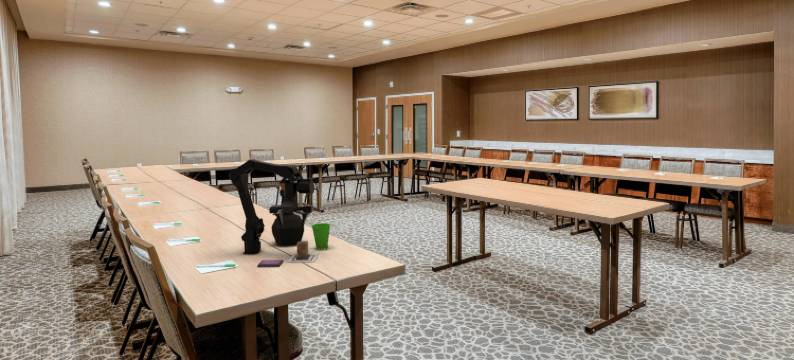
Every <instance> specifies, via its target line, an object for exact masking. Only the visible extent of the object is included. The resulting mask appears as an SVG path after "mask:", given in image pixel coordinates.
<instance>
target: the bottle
mask: <svg viewBox="0 0 794 360" xmlns="http://www.w3.org/2000/svg"><path fill="white" fill-rule="evenodd" d="M279 184H280V183H279ZM279 196H280V197H281V199H280V200H281V201H280V205H281V207H282V204H283V202H284V197H285V196H284V184H280V190H279ZM280 212H282V216H283V228H281V225H280V223H279V221H278V219H277V217H275V218H274V220H273V223H272V225H271V234H272V237H273V239H274V241H275V242H274V243H275V245H276V246H279V247H280V246H281V247H294V246H297V243H298V242H299V241H302V240H303V237H304V234H305V226H304V227H303V228H302V216H300V215H299V214H296V213H294V212H295V211H294V212H292V213H290V212H286V213H283V211H280Z"/></svg>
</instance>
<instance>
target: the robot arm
mask: <svg viewBox="0 0 794 360" xmlns="http://www.w3.org/2000/svg"><path fill="white" fill-rule="evenodd" d="M253 170H257V171H261V172H267V173H270V174H275V175H277V176H278V177H280V178H282V179H281V180H280V181H279V182H278V183H279V184H284V196H285V197H284V202H283V204H282V207H281V204H275V205H274V204H273V205H271V206H270V207H269V210H268V212H269V214H272V216H275V218H277V219H278V221H279V223H280V225H281V228H283V216H282V212H281V211H283V213H286V212H290V213H292V212H302V213H301V219H302V228H303V227H304V228H305V224H306V221H307V217H308V216H309V215H310V214H311V213H313V212H314V211H315V210H314V209H315V208H314V205H313V204H304V205H303V206H300V205H299V198H298V197H299V194H300V195H301V194H303V195H306V194H308V195H309V194H310V195H312V194H314V193H315V188H316V187H315V186H316V185H315V182H314V181H313V178H312V177H310V178H305V177H303V175H302V174H301V173H300V171H299V168H298V167H297V166H296V165H295V164H277V163H272V162H267V161H261V160H257V159H255V158H253V159H252V158H251V159H248V160H246V162H244V163H243V164H241V165H239V166H238V167H236V168H233V169H231V170H229V173H228V177H229V180H230V182H231V184H232V185H233V186H234V187H235V189H236V190H237V192H238V197H239V199H240V203H241V207H242V209H243V212H244V216H245V225H244V230H245V232H244V233H243V234H242V235H241V236H240V238H241V241H242V242H243V243H244V245H243V247H244V248H243V249H244V252H243V254H244V255H257V254H259V253H260V252H261V251H262V242H261V240H260V238H261V237H262V234H263V233H264V231H265V226H266V225H265V223H264V220H263V219H264V218H263V217H261V218H259V216H258V215H257V212H256V208H255V206H254V203H253V198H252V196H251V193H250V189H249V174H251V173H252V171H253Z"/></svg>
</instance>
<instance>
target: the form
mask: <svg viewBox="0 0 794 360" xmlns="http://www.w3.org/2000/svg"><path fill="white" fill-rule="evenodd" d="M319 256H320V254H310V257H309V259H308V260H296V257H297V254H292V255H291V256H290V257H289V258H288V260H287V261H286V263H290V264H292V263H293V264H294V263H295V264H296V263H300V264H301V263H316V261H317V260H318V258H319Z"/></svg>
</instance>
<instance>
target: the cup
mask: <svg viewBox="0 0 794 360" xmlns="http://www.w3.org/2000/svg"><path fill="white" fill-rule="evenodd" d="M310 226H311V229H312V233H313V237H314V242H315V247H316V248H315V249H317V250H326V249H327V248H328V244H329V236H330V228H331V223H327V222H320V223H314V224H311V225H310Z"/></svg>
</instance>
